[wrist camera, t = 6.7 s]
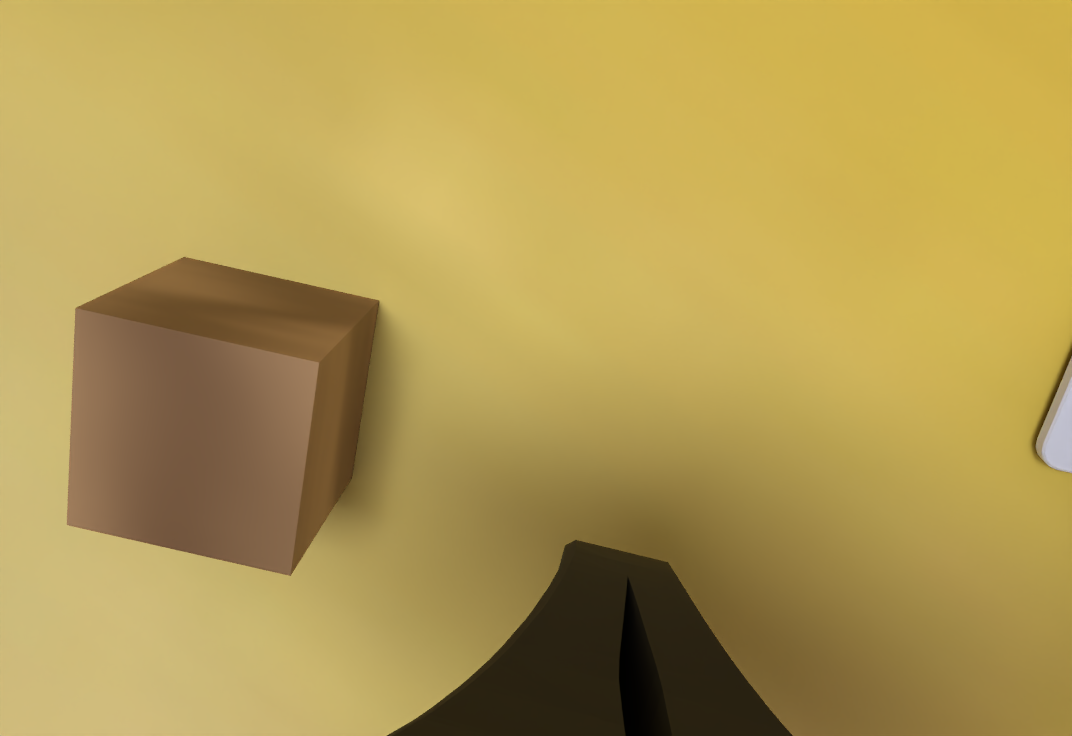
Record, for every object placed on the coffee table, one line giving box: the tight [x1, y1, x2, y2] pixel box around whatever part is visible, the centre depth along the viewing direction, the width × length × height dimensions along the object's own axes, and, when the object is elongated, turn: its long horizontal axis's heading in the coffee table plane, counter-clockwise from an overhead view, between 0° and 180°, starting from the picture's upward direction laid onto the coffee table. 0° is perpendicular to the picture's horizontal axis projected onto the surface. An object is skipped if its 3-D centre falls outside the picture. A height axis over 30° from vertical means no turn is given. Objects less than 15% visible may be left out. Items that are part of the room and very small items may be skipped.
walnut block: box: [67, 257, 379, 576], centre depth 20 cm, size 4×4×4 cm
